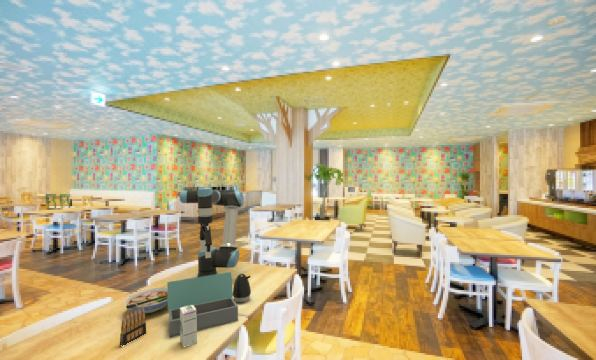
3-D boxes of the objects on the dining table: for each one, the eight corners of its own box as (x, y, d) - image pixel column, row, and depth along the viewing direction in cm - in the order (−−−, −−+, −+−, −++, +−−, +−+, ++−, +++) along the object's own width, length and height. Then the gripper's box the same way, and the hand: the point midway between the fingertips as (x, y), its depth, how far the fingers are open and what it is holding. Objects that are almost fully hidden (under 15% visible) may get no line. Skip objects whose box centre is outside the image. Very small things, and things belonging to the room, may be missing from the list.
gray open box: (169, 324, 127) (168, 310, 127) (231, 310, 141) (231, 297, 141) (170, 337, 117) (169, 321, 117) (237, 320, 131) (237, 306, 131)
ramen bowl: (168, 296, 159) (168, 282, 159) (183, 309, 143) (183, 294, 143) (118, 310, 142) (118, 295, 142) (129, 327, 125) (129, 310, 125)
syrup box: (197, 343, 113) (197, 308, 113) (182, 348, 109) (182, 312, 109) (193, 336, 117) (193, 303, 117) (179, 341, 114) (179, 307, 114)
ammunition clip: (143, 332, 121) (143, 306, 121) (146, 333, 120) (146, 306, 120) (119, 346, 111) (119, 317, 111) (122, 347, 110) (122, 318, 110)
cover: (167, 310, 127) (167, 309, 129) (232, 296, 142) (232, 296, 143) (167, 282, 130) (167, 282, 132) (231, 272, 145) (230, 271, 146)
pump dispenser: (247, 305, 147) (246, 277, 147) (229, 303, 149) (229, 276, 149) (253, 297, 157) (253, 271, 157) (237, 296, 159) (237, 270, 159)
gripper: (193, 213, 154) (194, 250, 154) (202, 219, 133) (202, 261, 133) (207, 212, 158) (207, 248, 158) (217, 217, 136) (218, 259, 136)
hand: (205, 254), depth 145 cm, fingers open, 13 cm apart
